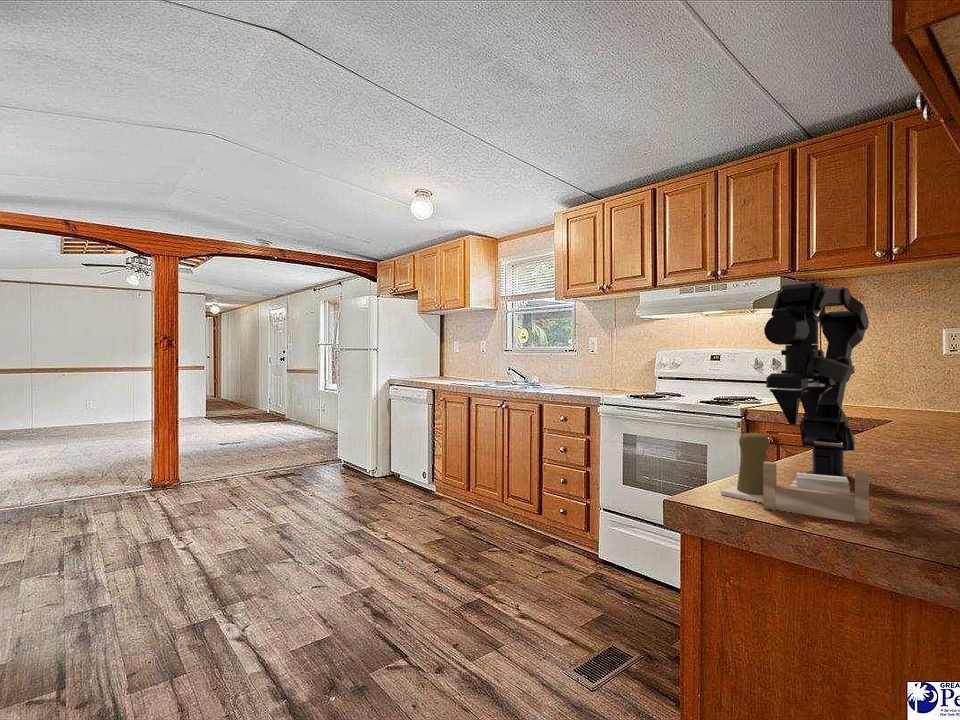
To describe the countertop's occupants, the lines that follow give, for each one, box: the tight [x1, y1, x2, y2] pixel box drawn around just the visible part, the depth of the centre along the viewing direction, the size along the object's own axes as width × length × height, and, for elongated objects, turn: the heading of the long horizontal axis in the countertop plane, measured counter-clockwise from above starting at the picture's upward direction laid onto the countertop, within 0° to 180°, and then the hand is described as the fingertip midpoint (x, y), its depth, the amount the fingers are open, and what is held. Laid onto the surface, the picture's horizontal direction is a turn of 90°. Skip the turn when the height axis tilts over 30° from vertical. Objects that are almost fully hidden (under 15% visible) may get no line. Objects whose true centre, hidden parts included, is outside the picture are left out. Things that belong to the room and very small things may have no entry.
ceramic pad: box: [720, 484, 763, 504], centre depth 100 cm, size 8×8×1 cm
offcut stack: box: [789, 472, 851, 494], centre depth 98 cm, size 5×9×4 cm, turn 53°
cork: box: [736, 432, 771, 495], centre depth 100 cm, size 6×6×11 cm
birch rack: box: [762, 461, 870, 525], centre depth 88 cm, size 2×15×8 cm, turn 54°
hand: (802, 422), depth 105 cm, fingers open, 9 cm apart
